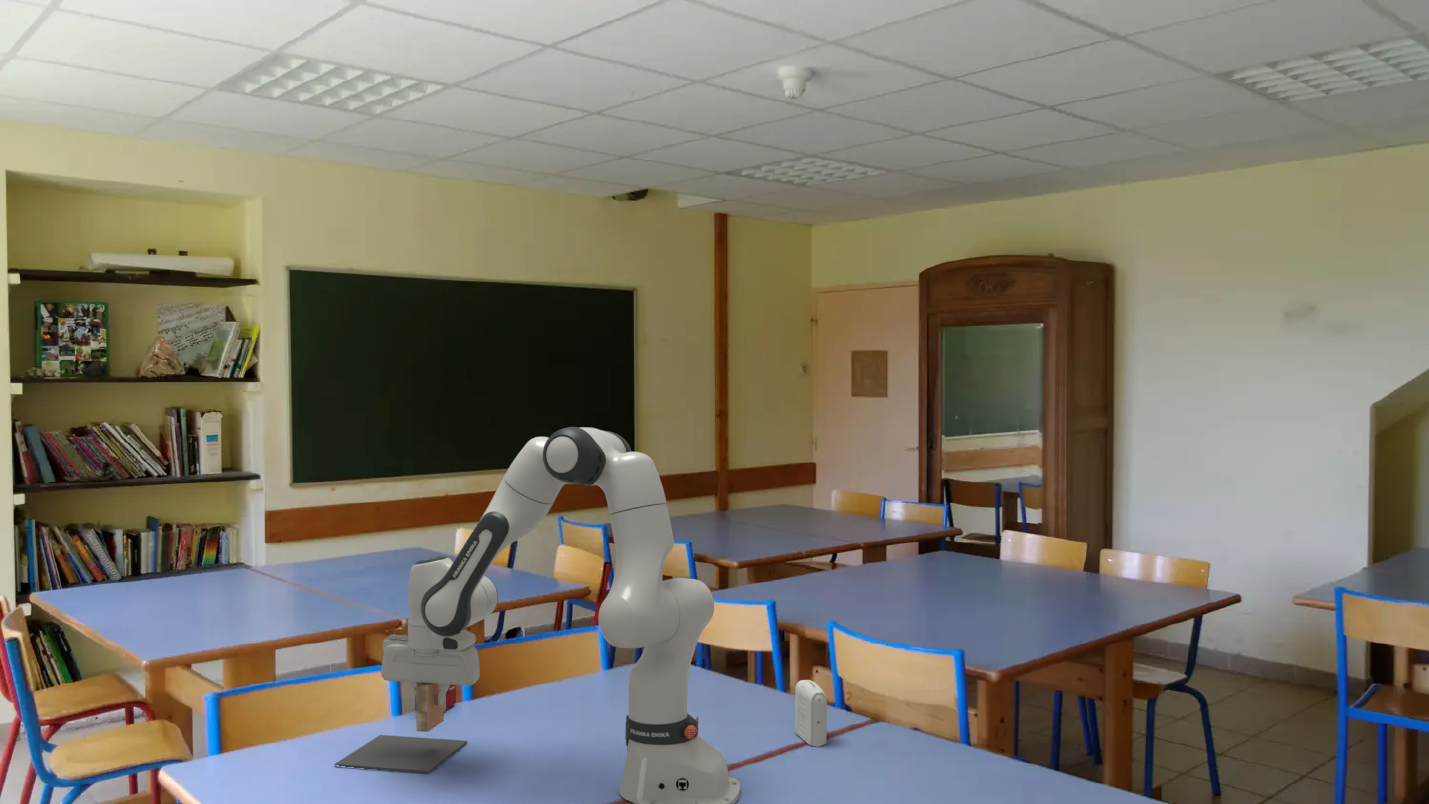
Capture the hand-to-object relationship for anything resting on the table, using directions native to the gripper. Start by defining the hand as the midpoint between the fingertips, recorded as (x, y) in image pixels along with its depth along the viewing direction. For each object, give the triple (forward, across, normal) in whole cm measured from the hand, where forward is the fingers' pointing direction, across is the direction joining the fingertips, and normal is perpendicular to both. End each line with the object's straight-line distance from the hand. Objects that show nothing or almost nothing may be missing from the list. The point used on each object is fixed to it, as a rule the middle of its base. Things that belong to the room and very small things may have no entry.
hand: (430, 704), depth 214 cm
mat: (+11, -6, 0) cm, 12 cm away
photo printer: (+11, +75, +26) cm, 80 cm away
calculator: (+11, -12, +29) cm, 33 cm away
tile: (+4, 0, 0) cm, 4 cm away
